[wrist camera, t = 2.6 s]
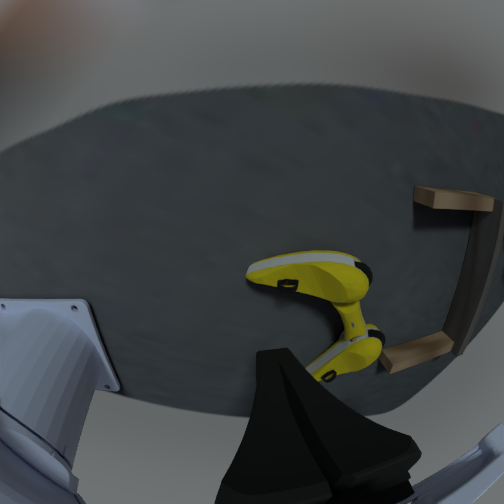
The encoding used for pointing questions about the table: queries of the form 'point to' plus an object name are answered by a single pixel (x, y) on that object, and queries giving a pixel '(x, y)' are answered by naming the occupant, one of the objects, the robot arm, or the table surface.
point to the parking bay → (470, 283)
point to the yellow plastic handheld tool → (341, 296)
